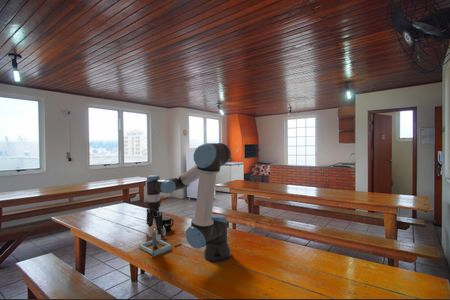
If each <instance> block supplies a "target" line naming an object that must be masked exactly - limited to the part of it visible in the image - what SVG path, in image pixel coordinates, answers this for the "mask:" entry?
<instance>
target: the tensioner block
mask: <svg viewBox="0 0 450 300" xmlns="http://www.w3.org/2000/svg"><path fill="white" fill-rule="evenodd" d="M166 235H167V232H166V229H165V227H164V226H163V228H162V229H161V239H160V240H164V239H167V236H166ZM145 237H146V239H145V241H146V242H149V241H152V237H149V233H148V234H147V233H146V236H145Z"/></svg>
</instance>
